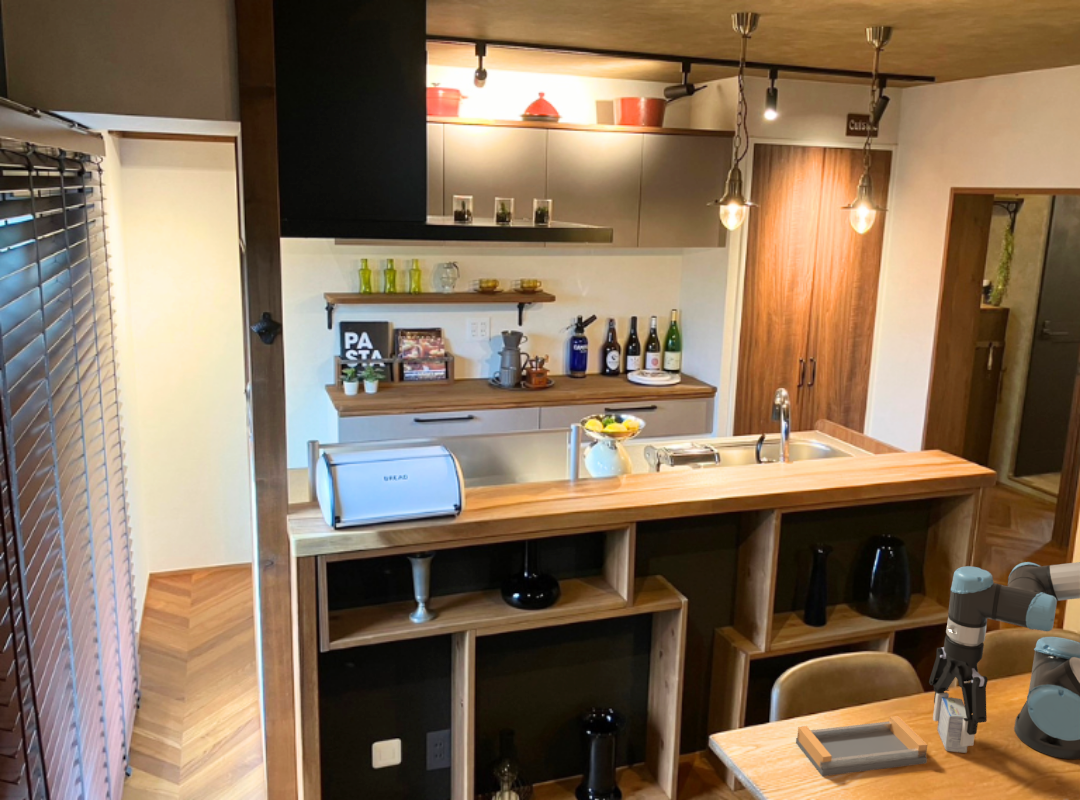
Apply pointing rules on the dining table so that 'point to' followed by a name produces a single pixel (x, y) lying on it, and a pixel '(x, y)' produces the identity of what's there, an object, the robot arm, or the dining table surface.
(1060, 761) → the dining table surface
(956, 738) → the medicine box
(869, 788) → the dining table surface
